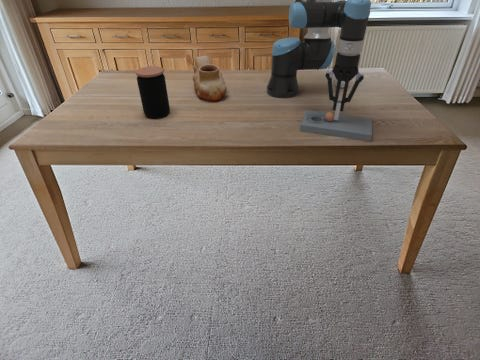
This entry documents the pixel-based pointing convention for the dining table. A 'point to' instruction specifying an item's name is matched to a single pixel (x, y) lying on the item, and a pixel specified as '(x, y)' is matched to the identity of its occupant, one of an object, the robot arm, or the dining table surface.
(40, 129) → the dining table surface
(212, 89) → the ceramic vessel
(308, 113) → the plate
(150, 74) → the coffee jar
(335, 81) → the geometric ball
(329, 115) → the ball
